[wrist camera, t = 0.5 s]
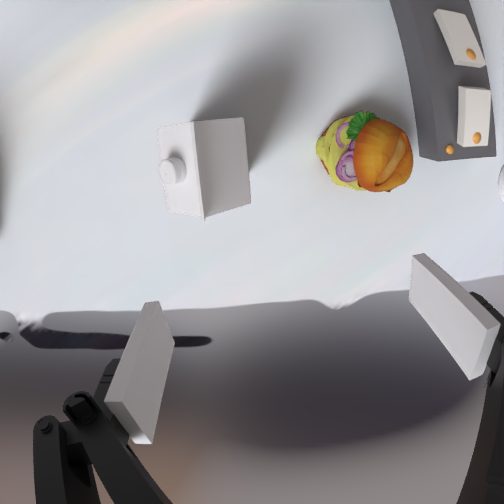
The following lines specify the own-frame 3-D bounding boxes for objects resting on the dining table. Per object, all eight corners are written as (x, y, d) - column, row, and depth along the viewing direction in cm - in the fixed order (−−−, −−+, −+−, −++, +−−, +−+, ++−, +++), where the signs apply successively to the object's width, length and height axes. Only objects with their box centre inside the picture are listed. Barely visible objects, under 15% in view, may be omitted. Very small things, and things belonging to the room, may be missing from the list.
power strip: (359, -77, 23) (371, -94, 18) (421, -65, 23) (438, -77, 18) (419, 156, 39) (441, 162, 34) (476, 151, 38) (499, 157, 33)
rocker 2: (458, 85, 28) (466, 88, 27) (483, 88, 28) (491, 90, 27) (456, 143, 33) (463, 147, 32) (481, 141, 33) (488, 146, 32)
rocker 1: (433, 13, 26) (438, 8, 24) (459, 18, 26) (465, 14, 24) (454, 64, 27) (461, 60, 26) (480, 67, 27) (487, 64, 26)
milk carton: (242, 120, 37) (245, 115, 19) (247, 175, 40) (253, 217, 22) (186, 126, 37) (141, 129, 19) (192, 180, 40) (155, 226, 22)
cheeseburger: (314, 106, 36) (359, 104, 27) (379, 118, 39) (429, 122, 30) (308, 183, 40) (350, 200, 31) (372, 186, 43) (419, 203, 34)
